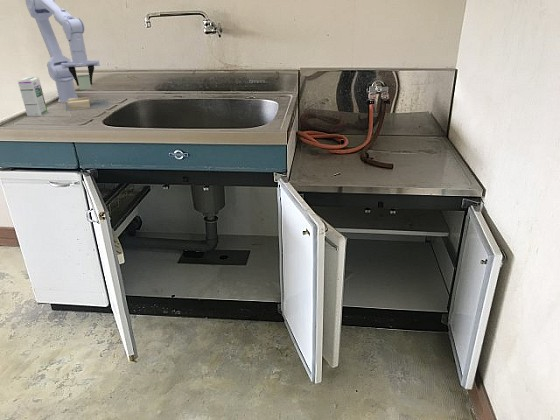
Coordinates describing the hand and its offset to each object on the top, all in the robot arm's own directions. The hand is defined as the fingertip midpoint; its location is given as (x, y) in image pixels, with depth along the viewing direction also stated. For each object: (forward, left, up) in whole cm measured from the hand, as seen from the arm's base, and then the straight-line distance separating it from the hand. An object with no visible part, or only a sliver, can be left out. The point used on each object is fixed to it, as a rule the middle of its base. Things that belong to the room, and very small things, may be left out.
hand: (84, 84), depth 197 cm
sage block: (0, 0, -1) cm, 1 cm away
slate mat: (+1, -1, -9) cm, 9 cm away
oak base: (+3, -4, -8) cm, 9 cm away
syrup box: (+8, -20, -9) cm, 23 cm away
